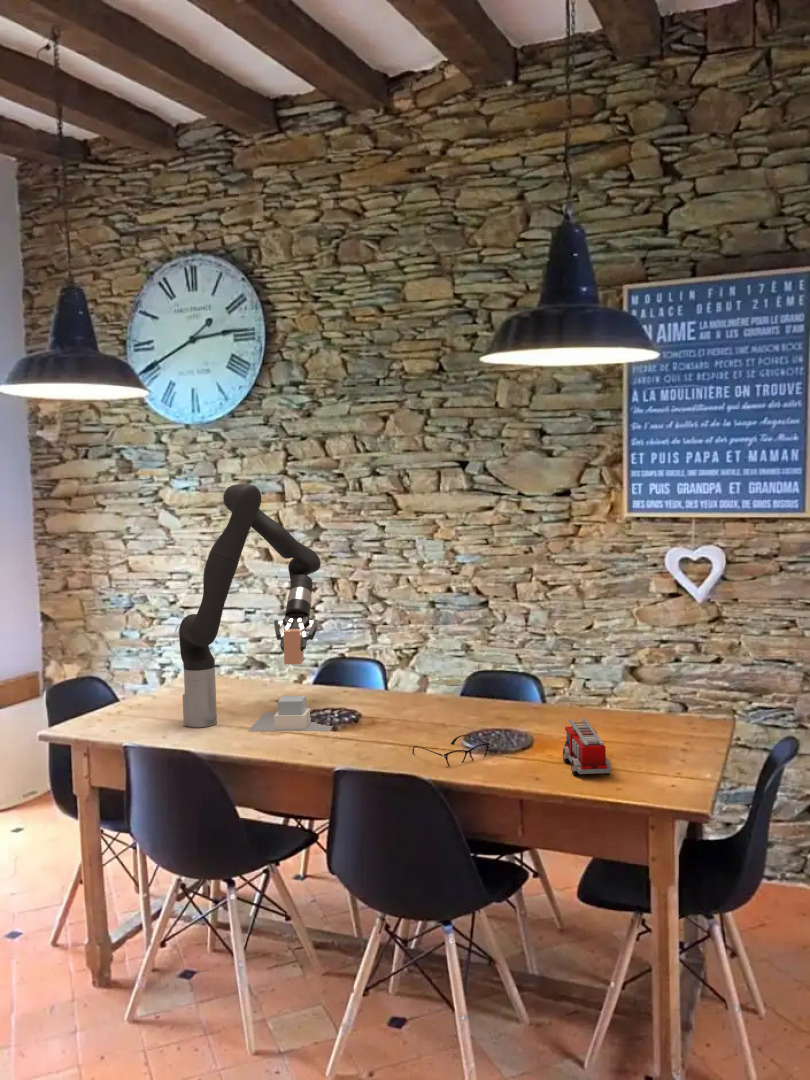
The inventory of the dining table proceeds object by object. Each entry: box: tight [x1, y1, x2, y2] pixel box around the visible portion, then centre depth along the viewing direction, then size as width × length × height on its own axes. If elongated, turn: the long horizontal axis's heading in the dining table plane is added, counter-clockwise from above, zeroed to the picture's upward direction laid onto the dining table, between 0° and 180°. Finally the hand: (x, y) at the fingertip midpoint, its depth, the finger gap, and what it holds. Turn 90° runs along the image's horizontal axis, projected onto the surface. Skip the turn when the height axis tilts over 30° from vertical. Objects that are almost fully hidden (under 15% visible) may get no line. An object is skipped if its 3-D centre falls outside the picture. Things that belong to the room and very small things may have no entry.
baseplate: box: [247, 711, 334, 732], centre depth 279 cm, size 24×22×1 cm
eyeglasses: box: [412, 734, 491, 766], centre depth 244 cm, size 16×16×4 cm
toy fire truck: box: [562, 718, 612, 776], centre depth 230 cm, size 9×19×10 cm, turn 2°
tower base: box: [274, 695, 311, 730], centre depth 274 cm, size 9×9×8 cm
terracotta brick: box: [282, 629, 305, 665], centre depth 283 cm, size 5×5×10 cm
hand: (292, 649), depth 281 cm, fingers closed on terracotta brick, 5 cm apart
